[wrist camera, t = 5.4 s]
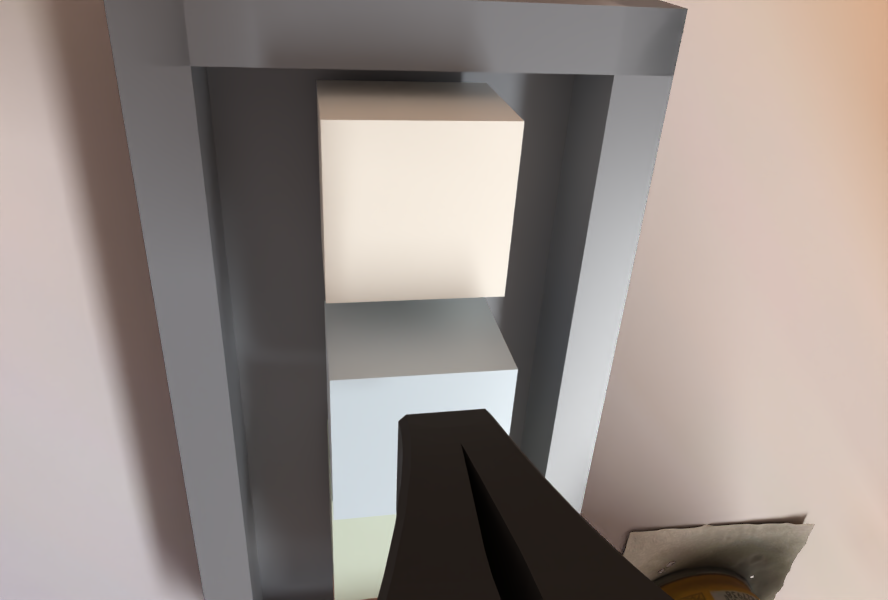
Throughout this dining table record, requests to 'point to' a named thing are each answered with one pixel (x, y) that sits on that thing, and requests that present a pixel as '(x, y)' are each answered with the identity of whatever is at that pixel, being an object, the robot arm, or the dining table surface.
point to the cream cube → (415, 189)
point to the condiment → (718, 559)
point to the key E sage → (359, 552)
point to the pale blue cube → (404, 385)
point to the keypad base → (300, 247)
